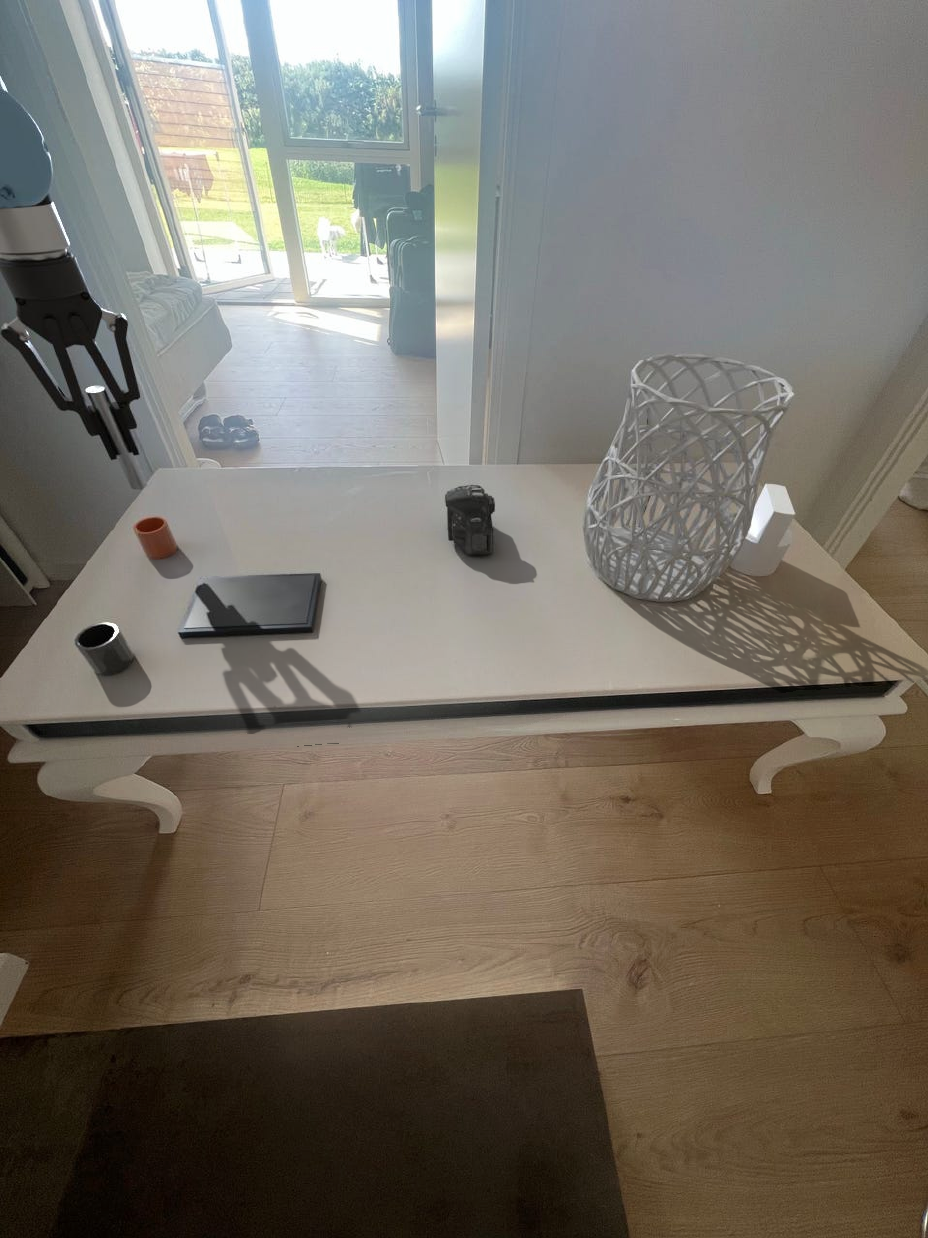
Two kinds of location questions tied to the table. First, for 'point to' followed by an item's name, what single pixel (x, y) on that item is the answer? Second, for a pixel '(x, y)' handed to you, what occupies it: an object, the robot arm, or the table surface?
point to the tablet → (252, 605)
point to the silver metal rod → (116, 436)
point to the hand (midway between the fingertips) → (124, 452)
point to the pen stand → (104, 648)
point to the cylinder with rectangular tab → (766, 533)
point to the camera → (470, 519)
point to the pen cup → (155, 537)
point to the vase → (677, 487)
